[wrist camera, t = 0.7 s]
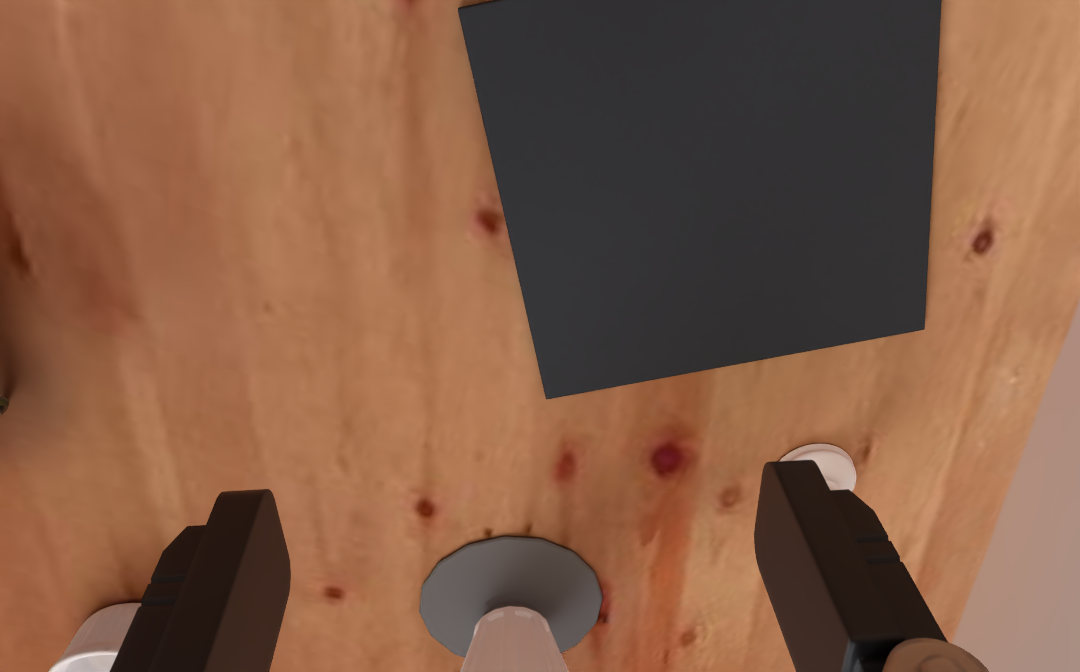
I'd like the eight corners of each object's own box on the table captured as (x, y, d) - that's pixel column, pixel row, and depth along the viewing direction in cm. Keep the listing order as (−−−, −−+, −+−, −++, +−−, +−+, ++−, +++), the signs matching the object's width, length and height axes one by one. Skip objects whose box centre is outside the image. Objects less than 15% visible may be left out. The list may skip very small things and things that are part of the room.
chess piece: (754, 498, 50) (809, 636, 41) (793, 434, 48) (860, 566, 39) (827, 516, 51) (896, 655, 42) (869, 454, 49) (950, 587, 40)
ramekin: (166, 706, 57) (144, 768, 53) (44, 645, 53) (10, 706, 49) (248, 640, 54) (230, 700, 50) (124, 570, 50) (95, 629, 47)
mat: (457, 7, 35) (457, 9, 35) (942, -95, 34) (947, -94, 34) (545, 395, 45) (546, 400, 45) (921, 326, 44) (924, 330, 44)
